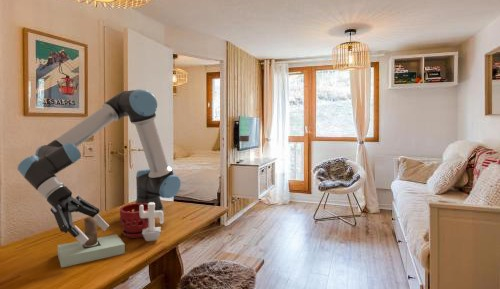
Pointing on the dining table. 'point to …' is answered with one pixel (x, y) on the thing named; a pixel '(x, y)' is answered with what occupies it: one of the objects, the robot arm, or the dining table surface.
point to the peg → (91, 232)
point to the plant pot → (133, 220)
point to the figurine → (151, 221)
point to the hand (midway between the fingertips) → (96, 234)
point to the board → (90, 250)
